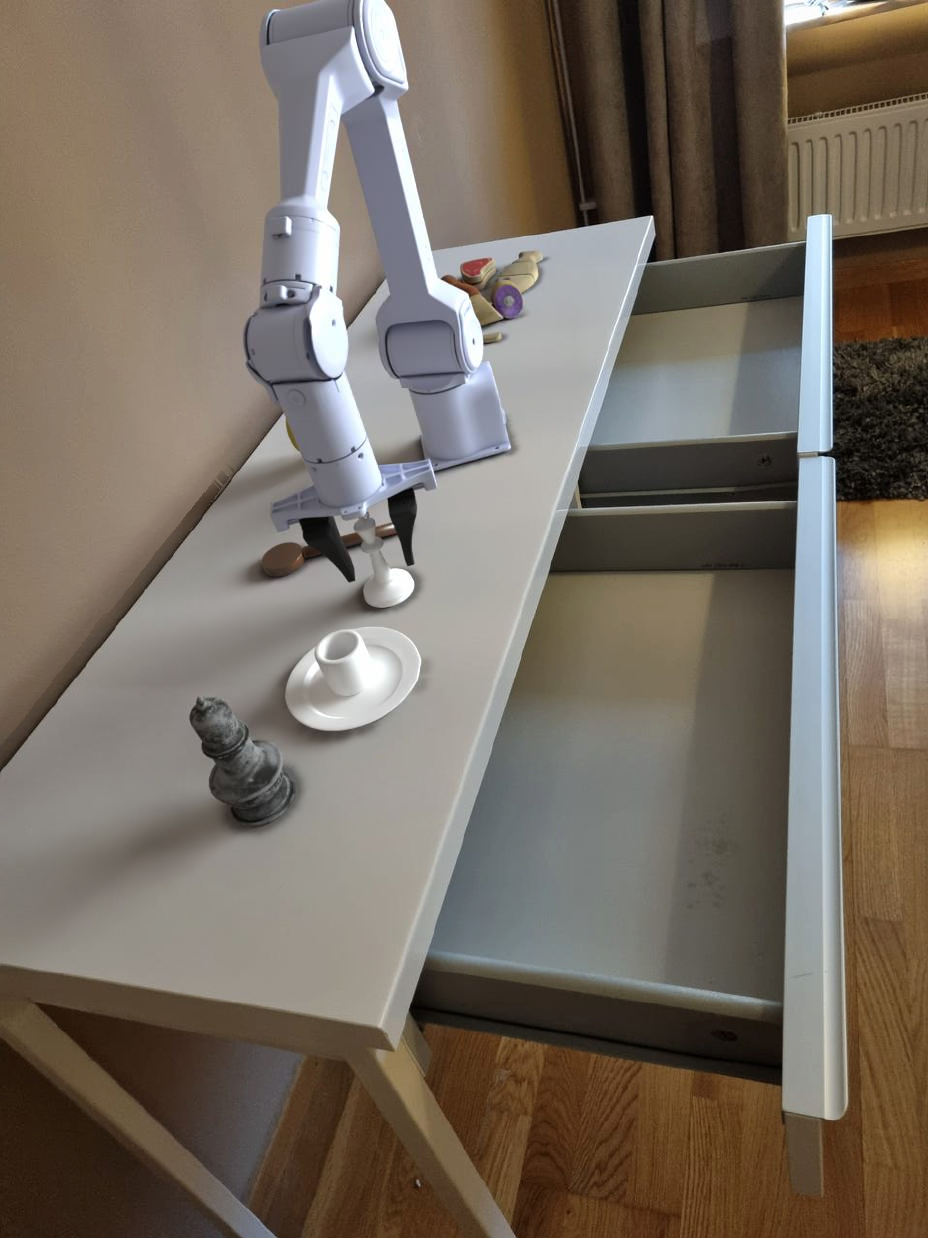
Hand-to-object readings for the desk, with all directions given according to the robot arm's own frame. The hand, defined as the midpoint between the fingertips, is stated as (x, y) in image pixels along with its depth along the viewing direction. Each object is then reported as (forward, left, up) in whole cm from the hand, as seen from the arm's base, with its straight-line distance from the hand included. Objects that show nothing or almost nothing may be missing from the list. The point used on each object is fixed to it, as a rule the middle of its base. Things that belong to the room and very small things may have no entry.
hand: (380, 567), depth 83 cm
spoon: (+6, -9, -3) cm, 11 cm away
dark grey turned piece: (+12, +21, -3) cm, 24 cm away
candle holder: (+4, +11, -3) cm, 12 cm away
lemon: (+6, -28, -3) cm, 29 cm away
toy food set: (-18, -59, -3) cm, 62 cm away
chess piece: (0, 0, -3) cm, 3 cm away
